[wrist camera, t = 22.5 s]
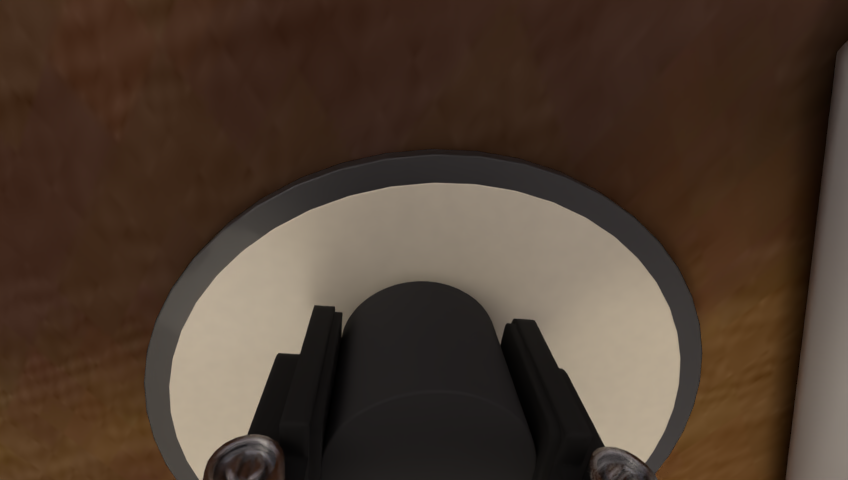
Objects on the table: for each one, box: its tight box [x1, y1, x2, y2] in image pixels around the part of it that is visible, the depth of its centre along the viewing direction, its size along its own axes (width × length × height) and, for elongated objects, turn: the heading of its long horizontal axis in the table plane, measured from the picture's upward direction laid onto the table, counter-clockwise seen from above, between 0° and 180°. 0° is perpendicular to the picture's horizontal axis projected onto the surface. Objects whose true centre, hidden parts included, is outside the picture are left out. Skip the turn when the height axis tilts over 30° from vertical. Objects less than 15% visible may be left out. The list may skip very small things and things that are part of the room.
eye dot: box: [321, 281, 537, 480], centre depth 11 cm, size 4×4×4 cm
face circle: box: [144, 149, 702, 480], centre depth 15 cm, size 18×18×1 cm
